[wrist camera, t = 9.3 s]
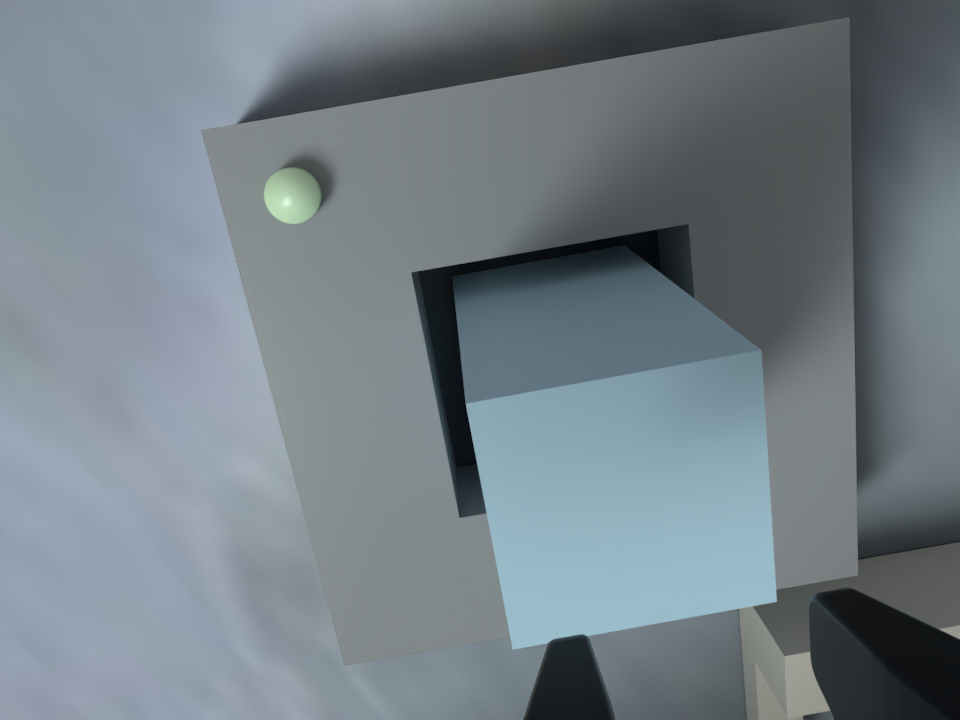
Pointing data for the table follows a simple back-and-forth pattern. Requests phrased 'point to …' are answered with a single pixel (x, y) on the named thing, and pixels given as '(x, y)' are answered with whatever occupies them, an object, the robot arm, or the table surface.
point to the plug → (614, 446)
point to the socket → (530, 227)
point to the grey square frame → (785, 625)
